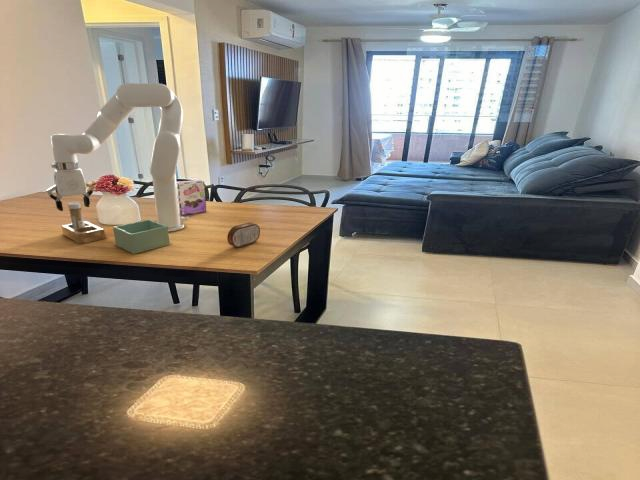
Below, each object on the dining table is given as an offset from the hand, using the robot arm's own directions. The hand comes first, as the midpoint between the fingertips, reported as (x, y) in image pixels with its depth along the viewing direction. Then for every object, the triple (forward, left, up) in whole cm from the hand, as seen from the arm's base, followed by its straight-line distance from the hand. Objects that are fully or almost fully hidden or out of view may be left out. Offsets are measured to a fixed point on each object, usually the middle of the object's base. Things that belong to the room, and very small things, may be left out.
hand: (74, 208), depth 156 cm
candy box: (-52, +2, -12) cm, 54 cm away
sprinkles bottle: (0, 0, -12) cm, 12 cm away
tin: (-38, +60, -12) cm, 72 cm away
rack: (0, +4, -11) cm, 12 cm away
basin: (-11, +31, -11) cm, 35 cm away
